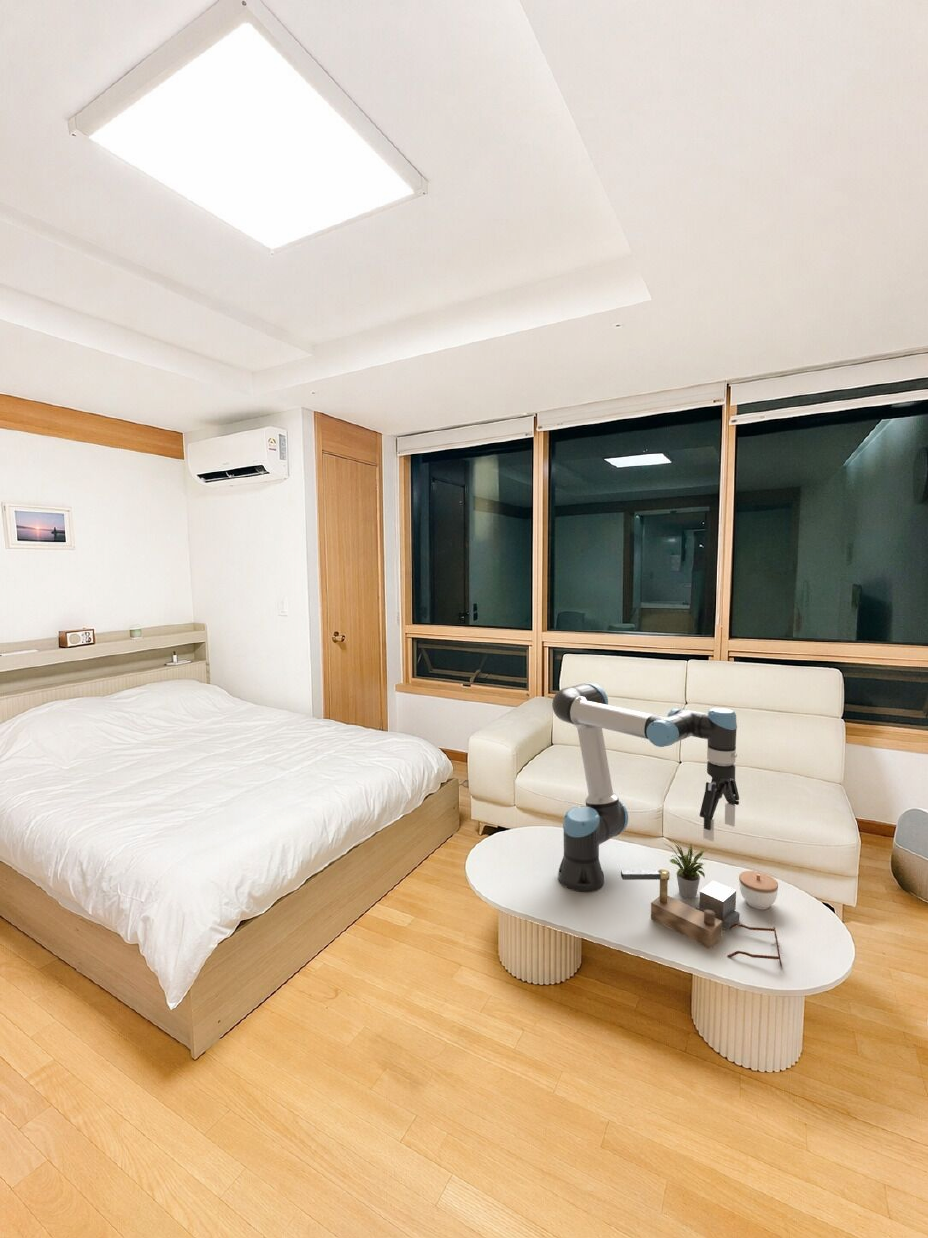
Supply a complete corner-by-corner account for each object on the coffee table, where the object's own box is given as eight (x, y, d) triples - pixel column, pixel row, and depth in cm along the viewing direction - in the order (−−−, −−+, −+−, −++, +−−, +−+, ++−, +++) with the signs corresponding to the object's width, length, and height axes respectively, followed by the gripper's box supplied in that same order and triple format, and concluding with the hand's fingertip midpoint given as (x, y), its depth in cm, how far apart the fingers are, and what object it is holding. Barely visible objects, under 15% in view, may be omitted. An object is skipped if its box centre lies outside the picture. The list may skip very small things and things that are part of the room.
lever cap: (699, 910, 165) (699, 891, 165) (712, 899, 171) (712, 880, 170) (722, 921, 160) (723, 901, 159) (735, 909, 165) (736, 890, 165)
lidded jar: (772, 918, 165) (773, 888, 164) (733, 904, 172) (734, 875, 171) (781, 902, 173) (782, 874, 172) (744, 889, 180) (745, 862, 179)
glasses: (782, 972, 143) (783, 954, 143) (727, 958, 149) (727, 941, 148) (777, 941, 155) (778, 924, 155) (726, 929, 161) (726, 913, 160)
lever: (667, 874, 167) (667, 869, 167) (671, 880, 164) (671, 875, 164) (620, 875, 167) (620, 869, 167) (623, 880, 164) (623, 875, 164)
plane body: (650, 918, 166) (651, 880, 165) (663, 909, 170) (663, 871, 169) (710, 949, 152) (711, 907, 151) (721, 937, 156) (722, 897, 155)
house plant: (656, 899, 175) (657, 849, 174) (663, 877, 188) (664, 831, 186) (705, 911, 169) (707, 860, 167) (709, 888, 181) (710, 840, 180)
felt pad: (695, 915, 167) (695, 907, 167) (706, 905, 171) (706, 898, 171) (728, 931, 159) (729, 922, 159) (739, 921, 164) (739, 913, 164)
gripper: (714, 776, 151) (712, 850, 152) (752, 755, 167) (750, 823, 168) (687, 768, 156) (686, 841, 158) (727, 749, 172) (725, 815, 174)
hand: (719, 832), depth 163 cm, fingers open, 13 cm apart
